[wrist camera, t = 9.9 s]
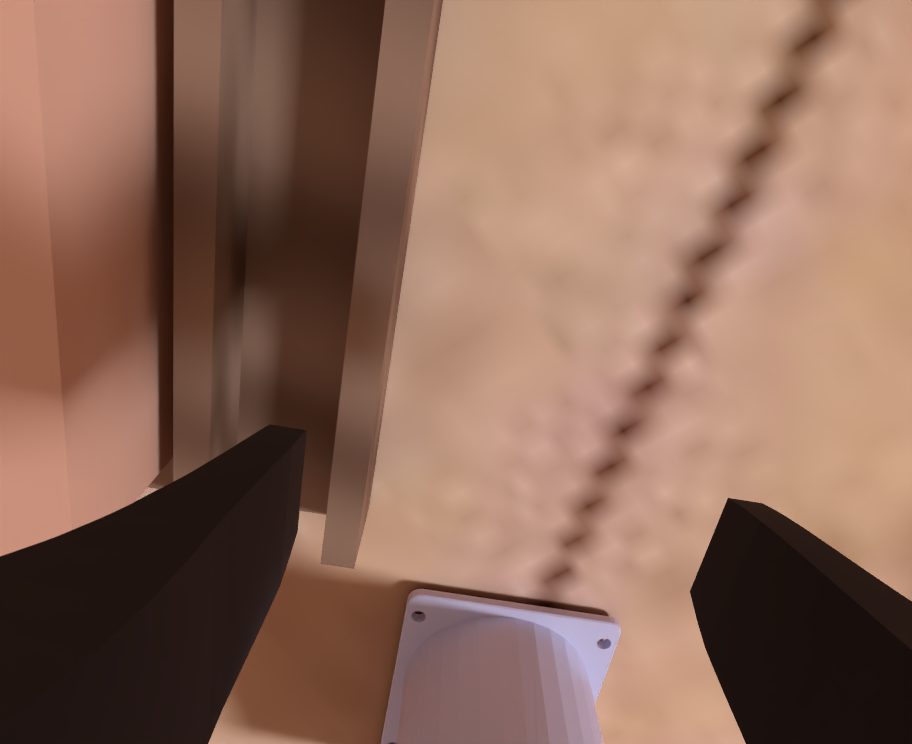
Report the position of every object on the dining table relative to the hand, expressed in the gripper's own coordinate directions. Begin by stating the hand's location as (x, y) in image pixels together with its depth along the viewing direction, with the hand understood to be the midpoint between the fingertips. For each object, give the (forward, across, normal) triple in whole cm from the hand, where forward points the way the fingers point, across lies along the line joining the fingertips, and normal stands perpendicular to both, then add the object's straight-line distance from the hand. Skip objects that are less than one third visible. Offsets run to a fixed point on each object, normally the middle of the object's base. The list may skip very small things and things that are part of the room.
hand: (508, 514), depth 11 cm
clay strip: (+9, +10, -3) cm, 13 cm away
